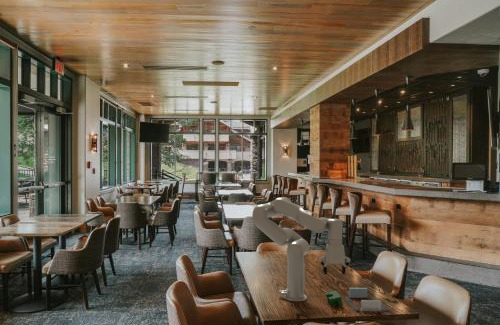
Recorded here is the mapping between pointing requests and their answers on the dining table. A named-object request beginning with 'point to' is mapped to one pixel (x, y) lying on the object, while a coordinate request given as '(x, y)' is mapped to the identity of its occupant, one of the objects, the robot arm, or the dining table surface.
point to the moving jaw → (358, 292)
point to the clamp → (334, 298)
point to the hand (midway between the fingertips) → (334, 274)
